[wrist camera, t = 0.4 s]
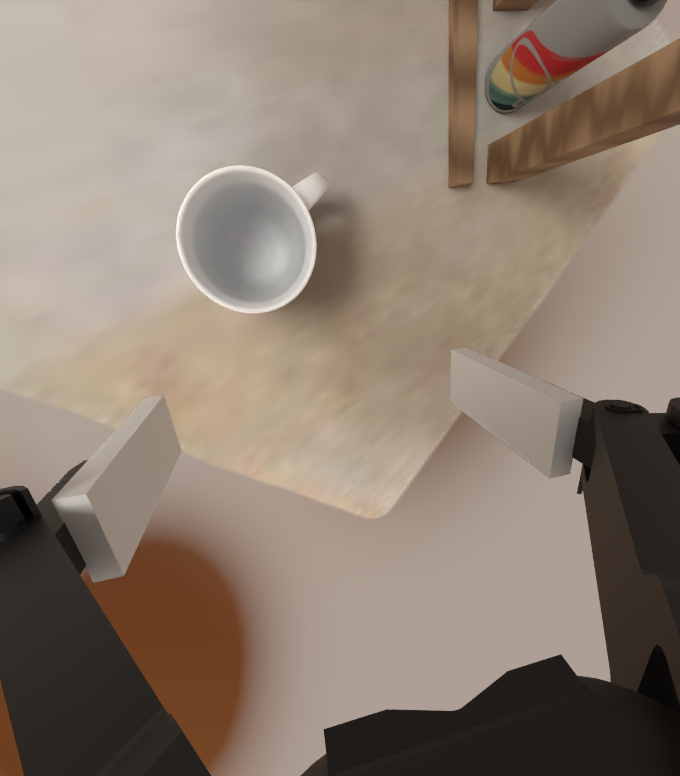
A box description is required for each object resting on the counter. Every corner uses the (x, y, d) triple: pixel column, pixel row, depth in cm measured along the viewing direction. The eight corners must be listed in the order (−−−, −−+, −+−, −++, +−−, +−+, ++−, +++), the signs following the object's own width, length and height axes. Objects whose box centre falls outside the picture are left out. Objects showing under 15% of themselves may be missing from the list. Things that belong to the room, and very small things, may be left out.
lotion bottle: (484, 118, 39) (679, -16, 20) (481, 56, 37) (696, -157, 18) (529, 109, 39) (757, -30, 21) (528, 47, 37) (782, -168, 19)
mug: (280, 147, 36) (285, 86, 24) (346, 233, 40) (379, 218, 28) (182, 246, 37) (141, 236, 25) (256, 319, 41) (251, 341, 29)
